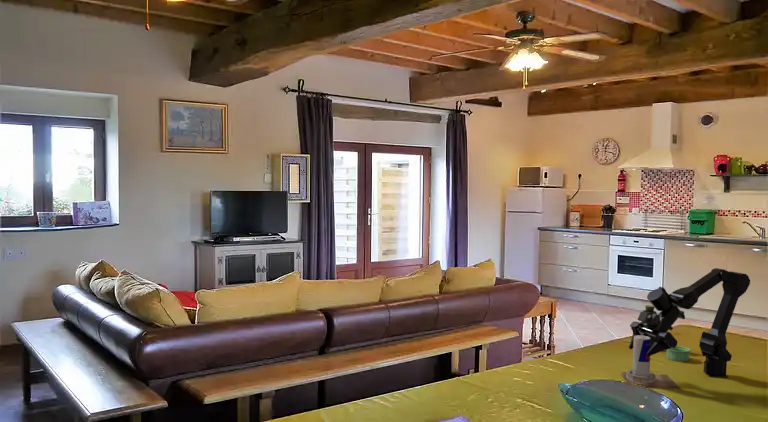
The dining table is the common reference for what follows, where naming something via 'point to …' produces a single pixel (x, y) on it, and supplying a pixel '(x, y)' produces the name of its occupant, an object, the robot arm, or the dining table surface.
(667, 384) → the board
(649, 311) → the potion bottle
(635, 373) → the beverage can
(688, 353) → the ramekin
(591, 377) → the dining table surface
